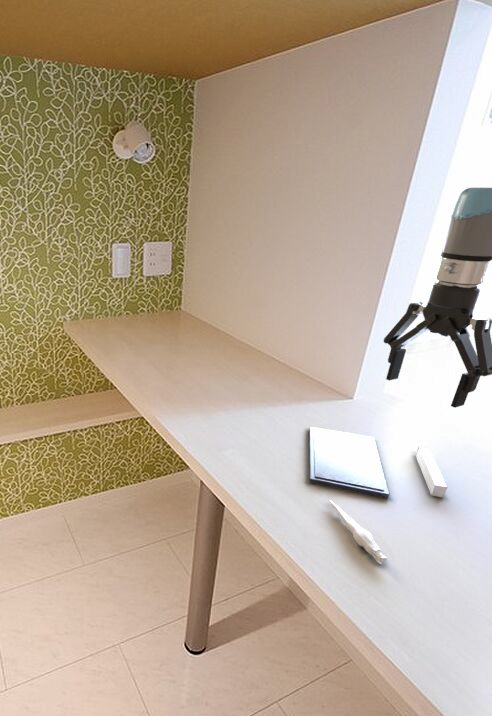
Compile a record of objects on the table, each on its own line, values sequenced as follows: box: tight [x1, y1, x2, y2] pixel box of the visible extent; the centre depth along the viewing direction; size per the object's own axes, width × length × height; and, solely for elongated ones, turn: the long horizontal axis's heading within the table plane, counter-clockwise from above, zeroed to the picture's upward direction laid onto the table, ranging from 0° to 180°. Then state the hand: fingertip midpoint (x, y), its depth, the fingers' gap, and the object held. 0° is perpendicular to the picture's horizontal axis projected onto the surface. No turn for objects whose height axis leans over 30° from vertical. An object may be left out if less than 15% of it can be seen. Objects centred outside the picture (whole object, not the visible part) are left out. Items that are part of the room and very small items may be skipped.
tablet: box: [308, 426, 390, 499], centre depth 93 cm, size 14×22×1 cm, turn 161°
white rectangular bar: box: [415, 446, 448, 498], centre depth 88 cm, size 2×16×2 cm, turn 161°
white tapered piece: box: [328, 499, 388, 565], centre depth 73 cm, size 15×3×2 cm, turn 11°
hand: (422, 391), depth 86 cm, fingers open, 13 cm apart
